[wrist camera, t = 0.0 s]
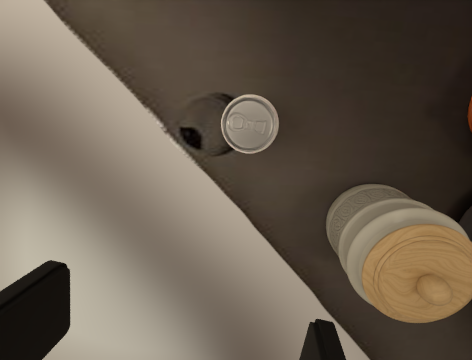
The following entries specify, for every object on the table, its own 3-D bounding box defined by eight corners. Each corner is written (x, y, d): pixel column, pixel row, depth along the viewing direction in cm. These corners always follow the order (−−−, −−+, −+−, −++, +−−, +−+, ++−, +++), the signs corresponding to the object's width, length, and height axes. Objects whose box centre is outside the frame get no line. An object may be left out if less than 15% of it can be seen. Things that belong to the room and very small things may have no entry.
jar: (307, 232, 41) (337, 312, 24) (357, 165, 38) (434, 203, 20) (375, 273, 41) (452, 381, 24) (430, 210, 38) (566, 284, 21)
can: (236, 97, 37) (223, 87, 26) (279, 105, 37) (286, 98, 25) (229, 140, 39) (213, 149, 27) (270, 148, 38) (272, 160, 27)
